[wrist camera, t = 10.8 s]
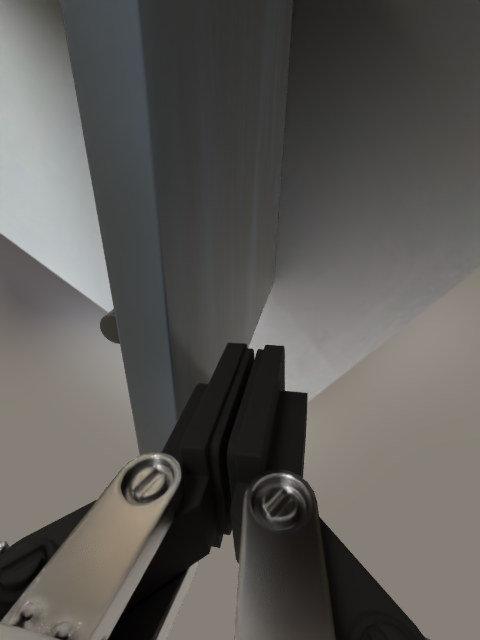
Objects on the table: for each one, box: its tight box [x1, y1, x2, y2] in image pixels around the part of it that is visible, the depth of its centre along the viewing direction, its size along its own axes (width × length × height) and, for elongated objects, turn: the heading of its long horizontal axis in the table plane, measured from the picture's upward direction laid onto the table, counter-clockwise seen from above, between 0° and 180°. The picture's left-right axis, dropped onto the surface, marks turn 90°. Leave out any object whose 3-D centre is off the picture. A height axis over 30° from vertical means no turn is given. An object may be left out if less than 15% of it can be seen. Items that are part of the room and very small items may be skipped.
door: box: [60, 0, 293, 456], centre depth 18 cm, size 8×26×24 cm, turn 179°
